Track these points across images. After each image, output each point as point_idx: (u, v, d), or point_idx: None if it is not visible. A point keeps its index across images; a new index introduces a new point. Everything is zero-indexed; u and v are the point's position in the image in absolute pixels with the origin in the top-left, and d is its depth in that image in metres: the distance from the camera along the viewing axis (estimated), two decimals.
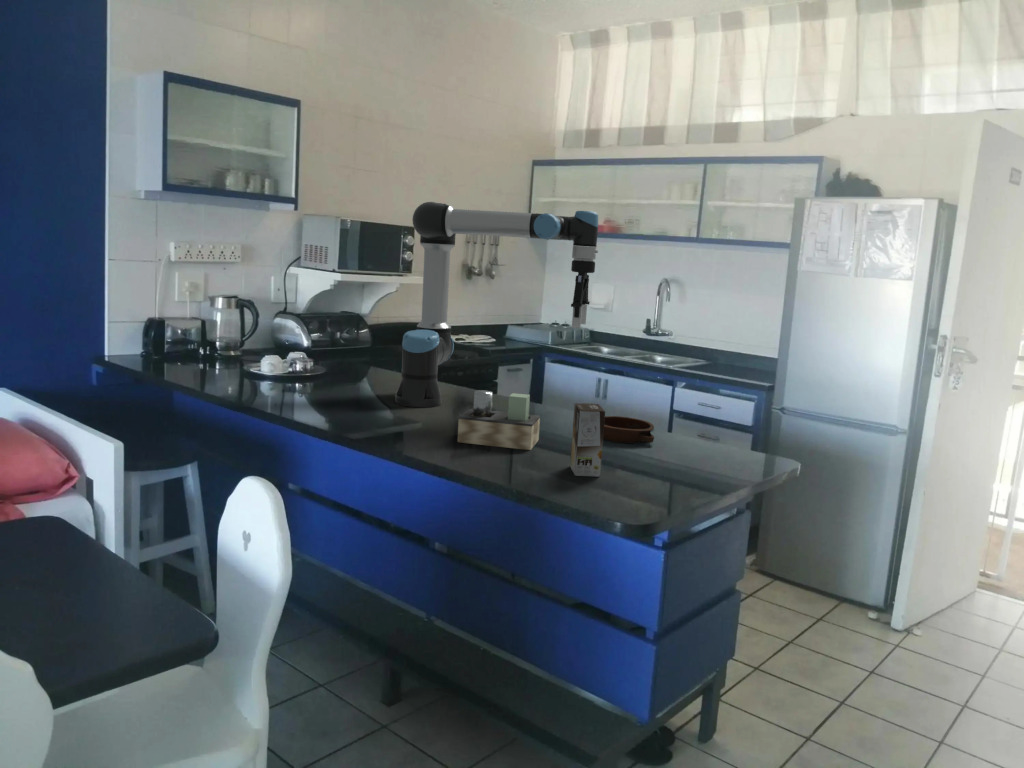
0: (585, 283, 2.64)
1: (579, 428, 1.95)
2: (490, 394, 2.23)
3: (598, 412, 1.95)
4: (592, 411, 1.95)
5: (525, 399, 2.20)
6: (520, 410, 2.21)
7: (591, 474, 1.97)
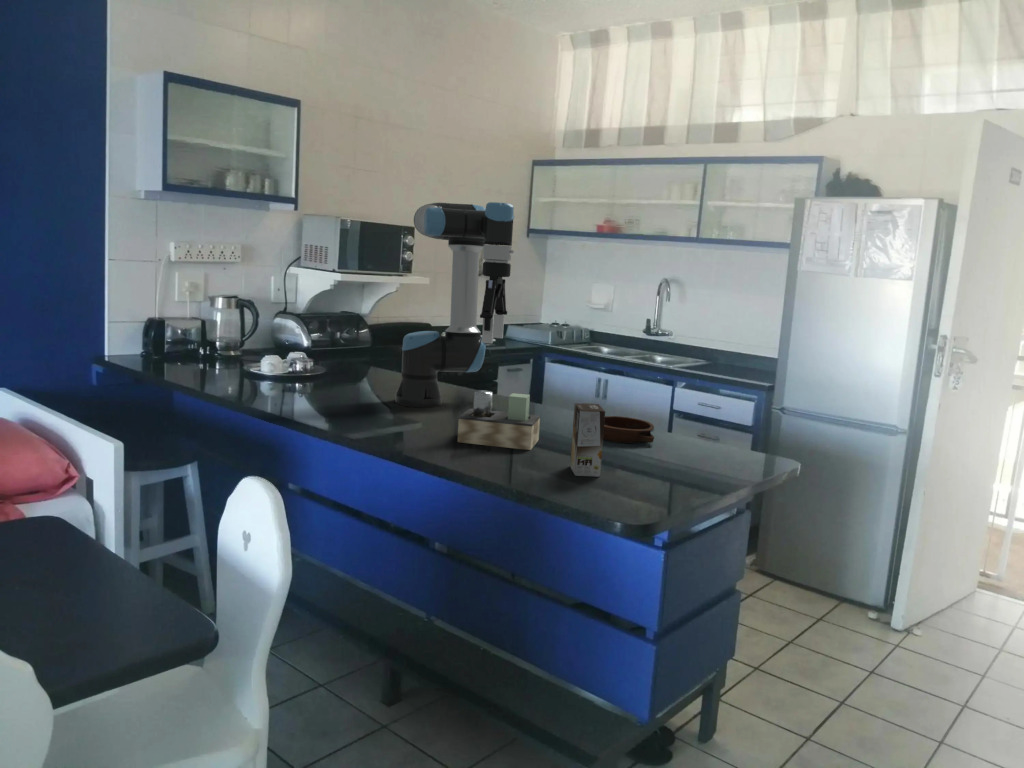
0: (498, 289, 2.20)
1: (579, 428, 1.95)
2: (490, 394, 2.23)
3: (598, 412, 1.95)
4: (592, 411, 1.95)
5: (525, 399, 2.20)
6: (520, 410, 2.21)
7: (591, 474, 1.97)
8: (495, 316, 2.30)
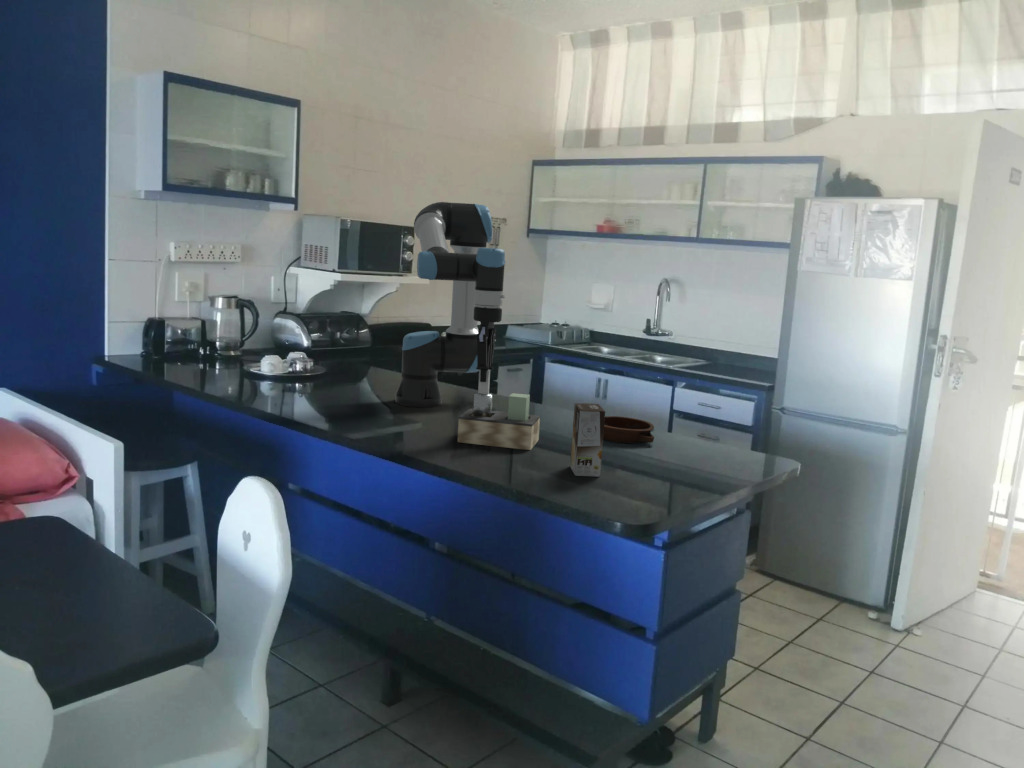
0: (490, 337, 2.20)
1: (579, 428, 1.95)
2: (490, 396, 2.24)
3: (598, 412, 1.95)
4: (592, 411, 1.95)
5: (525, 399, 2.20)
6: (520, 410, 2.21)
7: (591, 474, 1.97)
8: None
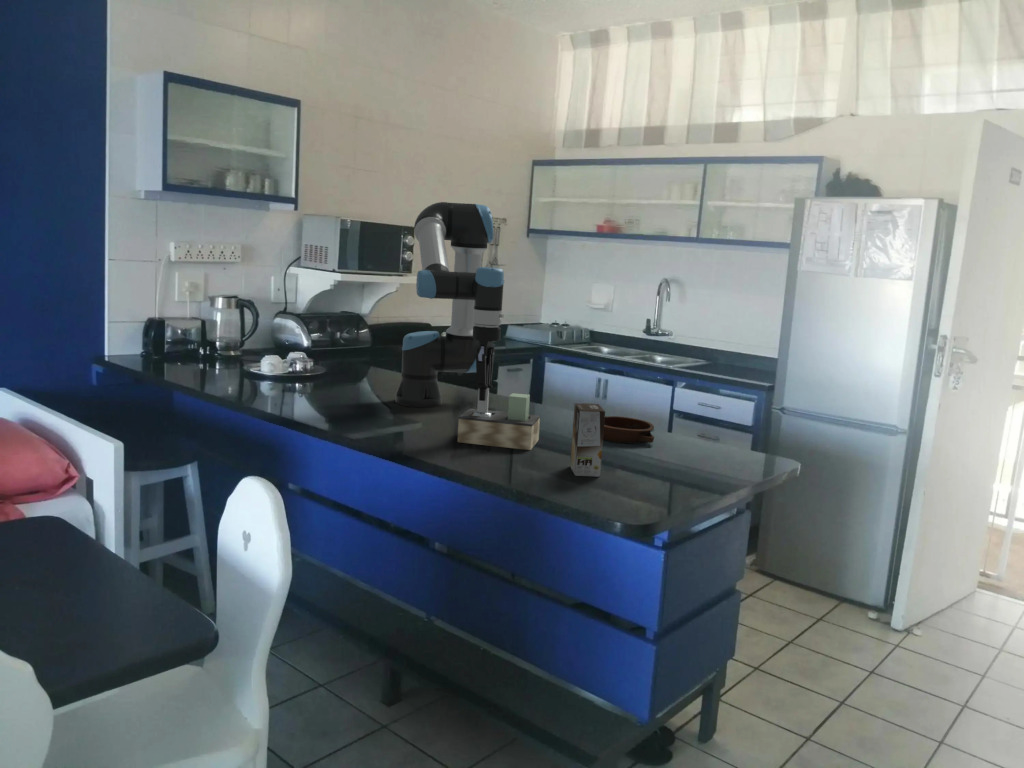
0: (489, 356, 2.21)
1: (579, 428, 1.95)
2: (489, 415, 2.24)
3: (598, 412, 1.95)
4: (592, 411, 1.95)
5: (525, 399, 2.20)
6: (520, 410, 2.21)
7: (591, 474, 1.97)
8: None
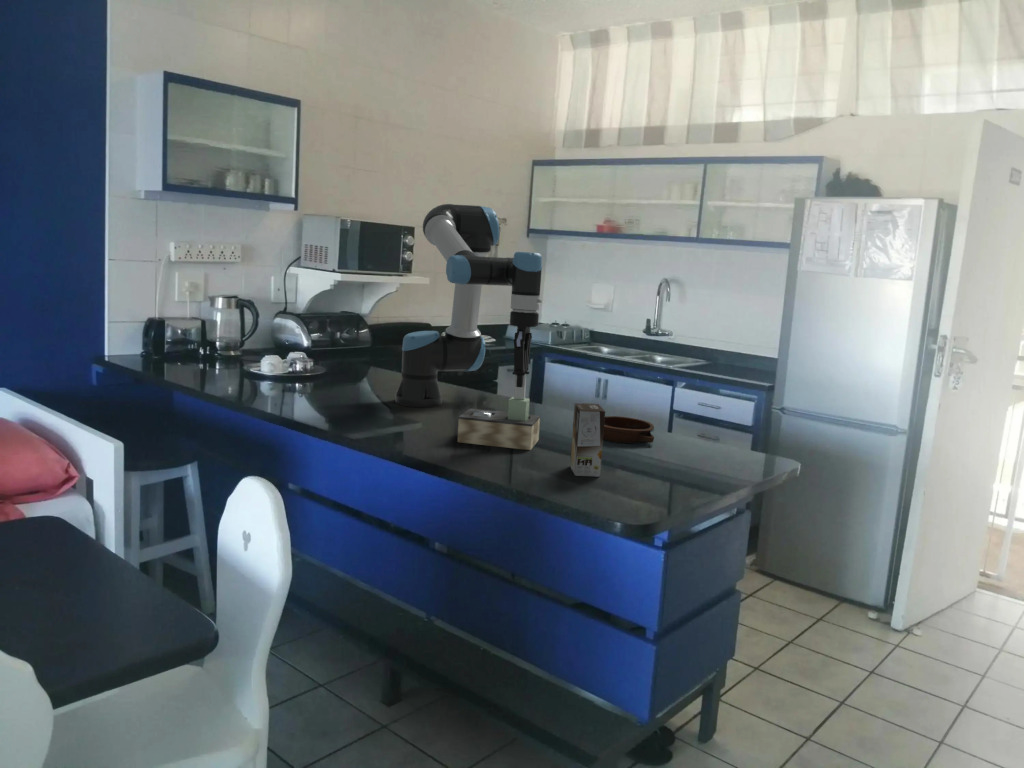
0: (526, 342, 2.18)
1: (579, 428, 1.95)
2: (489, 415, 2.24)
3: (598, 412, 1.95)
4: (592, 411, 1.95)
5: (525, 403, 2.20)
6: (520, 414, 2.21)
7: (591, 474, 1.97)
8: None
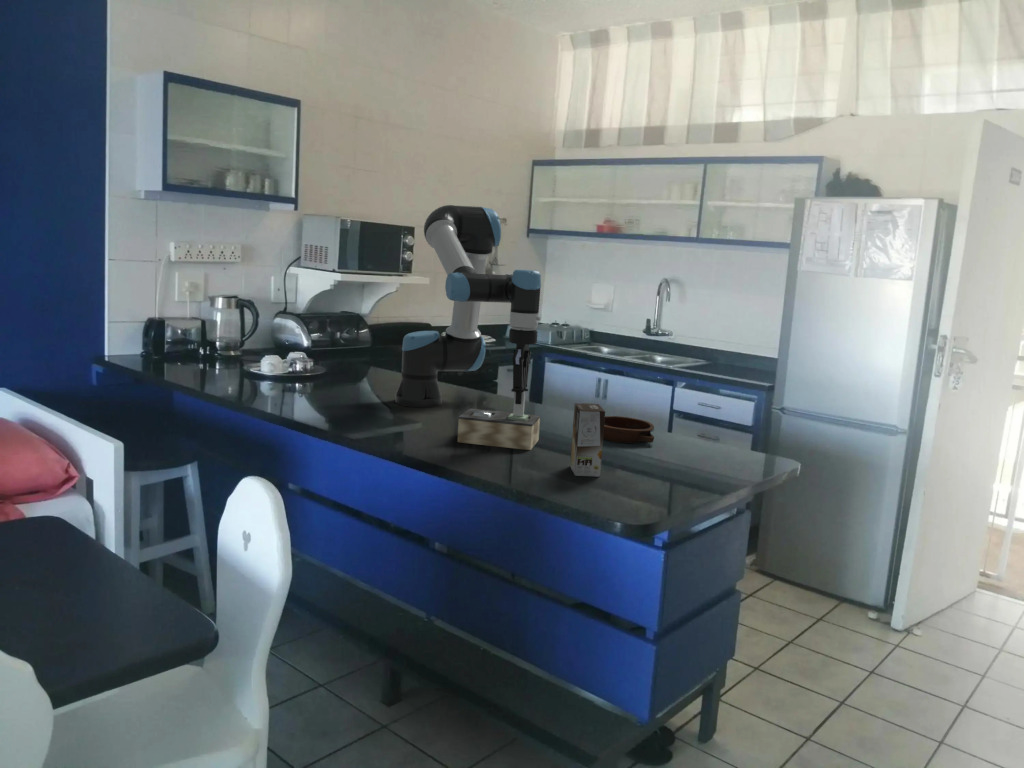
0: (525, 359, 2.19)
1: (579, 428, 1.95)
2: (489, 415, 2.24)
3: (598, 412, 1.95)
4: (592, 411, 1.95)
5: (524, 420, 2.21)
6: None
7: (591, 474, 1.97)
8: None
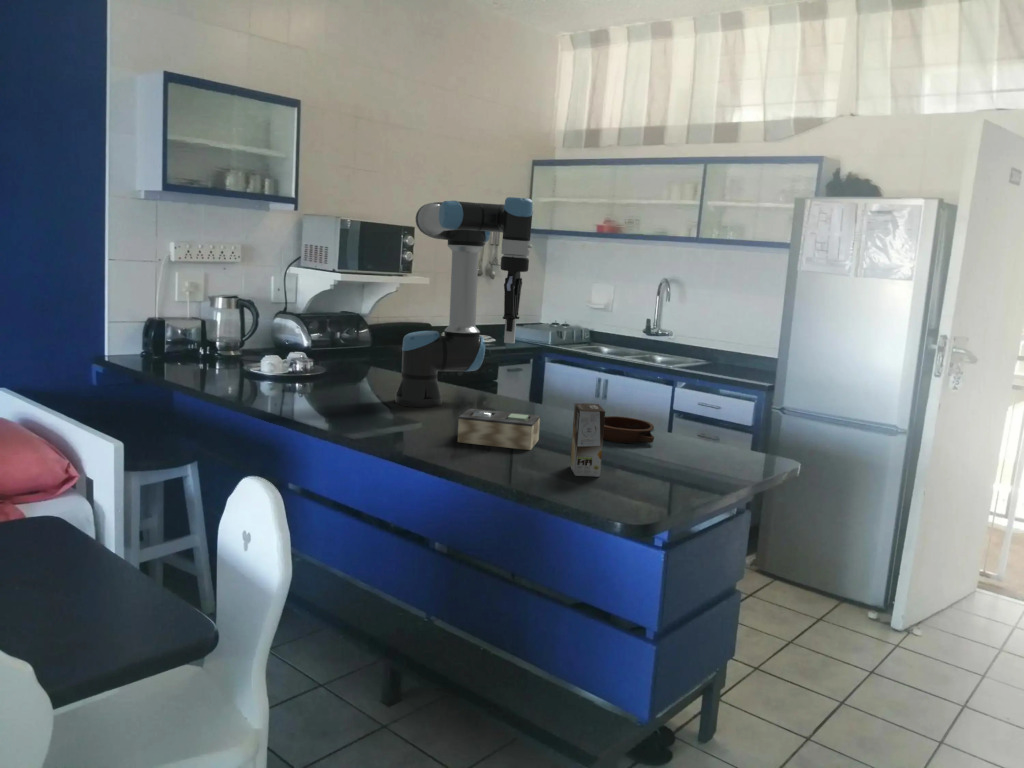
0: (517, 287, 2.22)
1: (579, 428, 1.95)
2: (489, 415, 2.24)
3: (598, 412, 1.95)
4: (592, 411, 1.95)
5: (524, 420, 2.21)
6: None
7: (591, 474, 1.97)
8: None
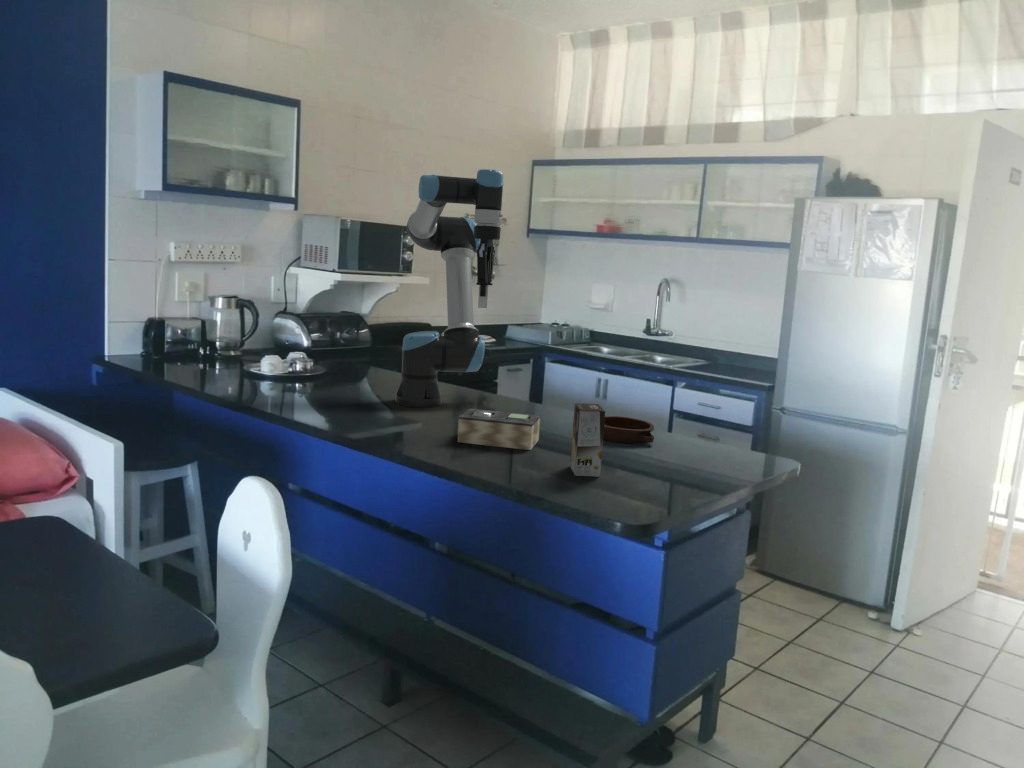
0: (489, 254, 2.36)
1: (579, 428, 1.95)
2: (489, 415, 2.24)
3: (598, 412, 1.95)
4: (592, 411, 1.95)
5: (524, 420, 2.21)
6: None
7: (591, 474, 1.97)
8: None
